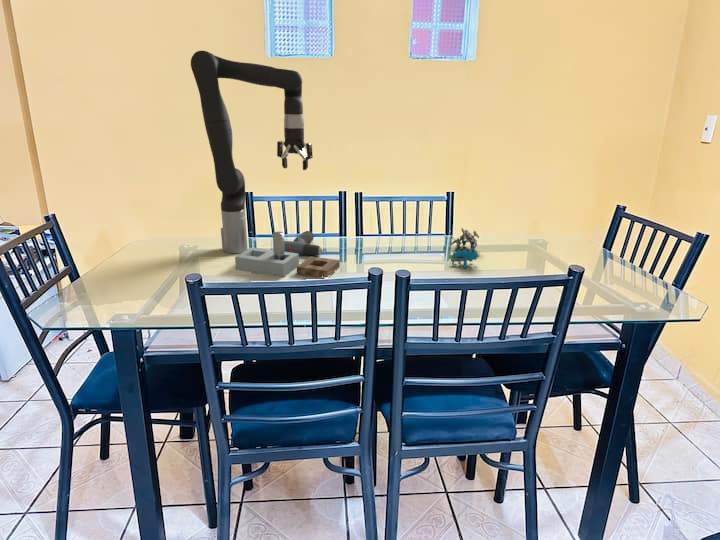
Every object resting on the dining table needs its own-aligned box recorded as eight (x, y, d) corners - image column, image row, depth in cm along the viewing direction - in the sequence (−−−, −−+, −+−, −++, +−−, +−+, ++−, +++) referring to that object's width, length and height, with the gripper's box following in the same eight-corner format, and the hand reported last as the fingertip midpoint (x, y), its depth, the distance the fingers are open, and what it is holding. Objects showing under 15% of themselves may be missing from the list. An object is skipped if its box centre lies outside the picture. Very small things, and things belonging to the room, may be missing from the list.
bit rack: (235, 269, 182) (234, 256, 180) (252, 259, 192) (252, 247, 191) (284, 276, 176) (283, 263, 174) (299, 265, 186) (298, 253, 185)
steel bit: (272, 270, 182) (270, 233, 177) (277, 266, 185) (276, 231, 180) (282, 271, 180) (280, 235, 175) (287, 268, 184) (285, 232, 179)
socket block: (296, 274, 178) (296, 266, 177) (310, 263, 189) (310, 256, 188) (327, 278, 175) (327, 271, 174) (339, 267, 185) (339, 260, 184)
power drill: (336, 244, 212) (319, 259, 195) (296, 240, 217) (276, 254, 200) (336, 233, 211) (319, 247, 193) (296, 228, 215) (276, 242, 198)
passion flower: (471, 263, 208) (482, 246, 199) (447, 258, 208) (456, 241, 198) (471, 242, 215) (481, 225, 205) (447, 237, 214) (456, 220, 204)
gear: (478, 258, 193) (477, 247, 184) (478, 272, 190) (478, 261, 182) (449, 260, 195) (448, 248, 186) (449, 273, 193) (448, 262, 184)
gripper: (272, 126, 187) (274, 169, 193) (306, 128, 183) (307, 171, 189) (282, 124, 194) (283, 166, 200) (314, 126, 190) (315, 168, 195)
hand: (295, 168), depth 194 cm, fingers open, 8 cm apart
